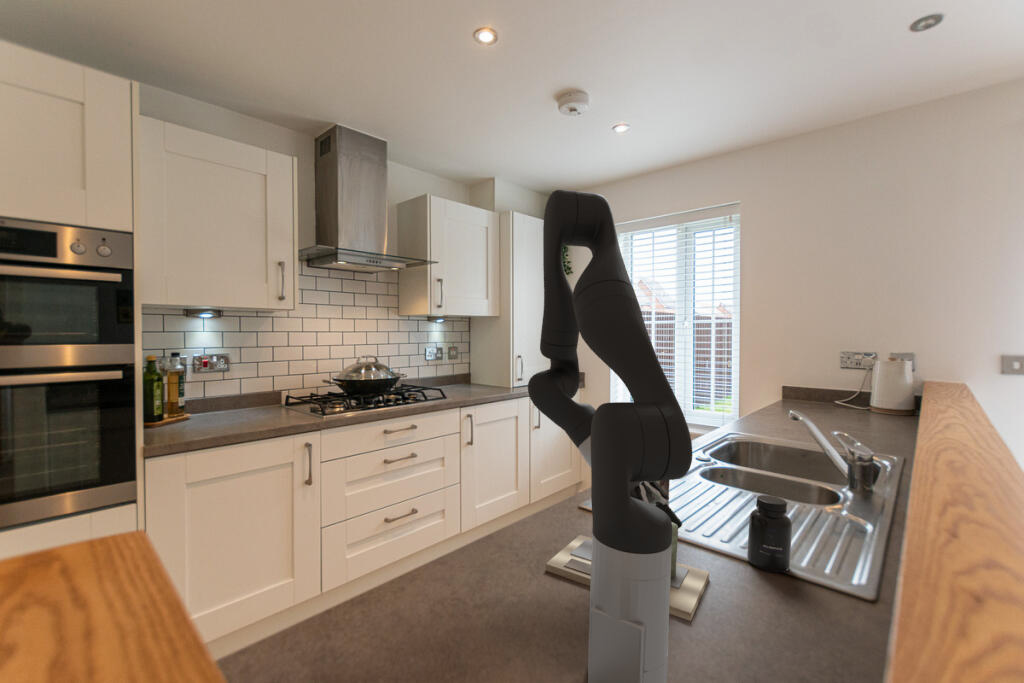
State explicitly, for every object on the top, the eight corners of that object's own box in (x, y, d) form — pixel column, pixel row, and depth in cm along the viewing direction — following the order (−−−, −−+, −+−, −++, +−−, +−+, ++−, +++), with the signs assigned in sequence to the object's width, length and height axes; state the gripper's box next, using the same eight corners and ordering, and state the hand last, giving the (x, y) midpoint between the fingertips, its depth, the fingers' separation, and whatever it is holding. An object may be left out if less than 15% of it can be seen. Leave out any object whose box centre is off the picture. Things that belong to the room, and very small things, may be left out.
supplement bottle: (767, 576, 80) (770, 507, 80) (738, 557, 87) (741, 493, 87) (799, 571, 82) (802, 504, 82) (768, 553, 89) (771, 491, 89)
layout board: (690, 621, 67) (691, 611, 67) (545, 570, 80) (545, 562, 80) (708, 578, 79) (709, 570, 79) (579, 540, 92) (579, 533, 92)
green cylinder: (672, 581, 75) (674, 533, 75) (645, 573, 77) (647, 526, 77) (678, 570, 79) (680, 523, 79) (652, 562, 81) (654, 517, 81)
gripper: (608, 453, 76) (678, 541, 70) (636, 437, 88) (698, 511, 82) (578, 479, 79) (642, 565, 73) (609, 460, 91) (666, 533, 85)
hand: (672, 537), depth 77 cm, fingers open, 8 cm apart
